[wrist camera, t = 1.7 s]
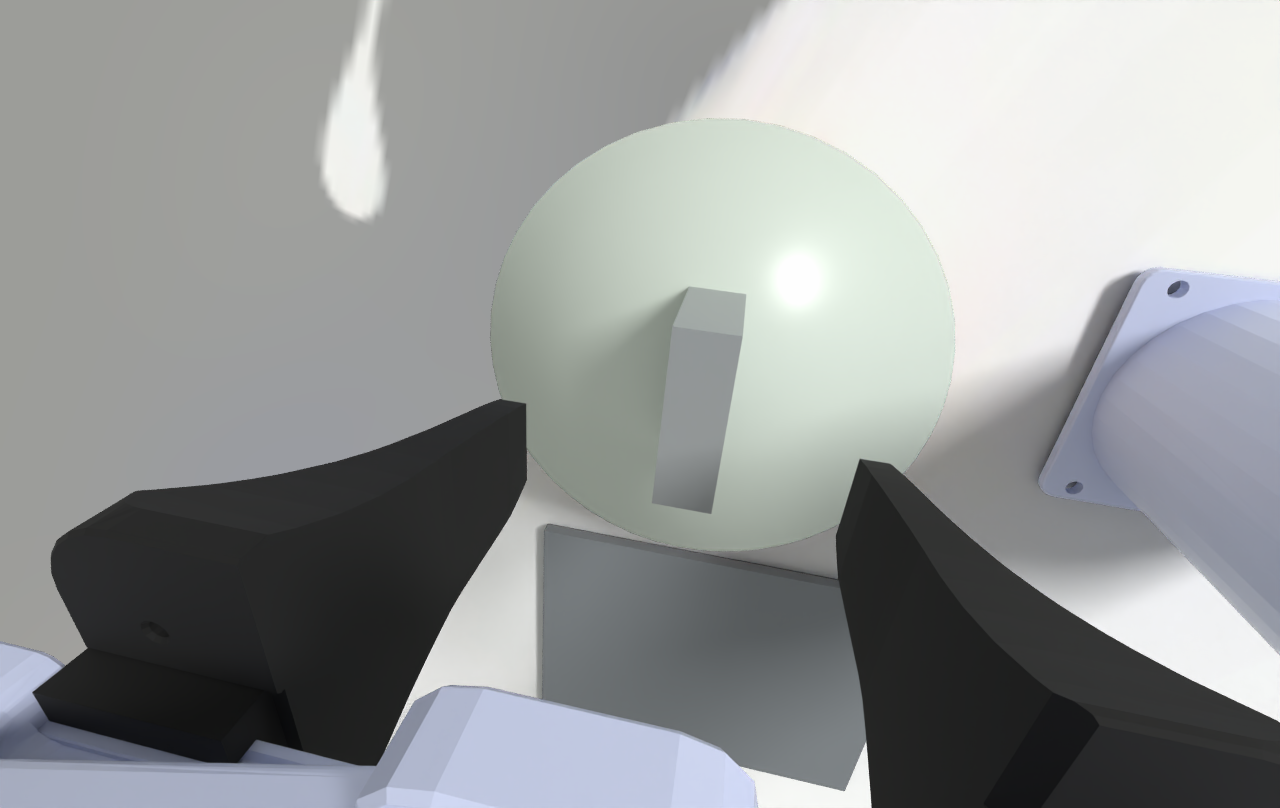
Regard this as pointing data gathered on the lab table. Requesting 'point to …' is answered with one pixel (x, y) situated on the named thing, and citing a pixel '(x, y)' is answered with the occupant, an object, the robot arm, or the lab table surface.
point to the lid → (721, 332)
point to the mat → (705, 651)
